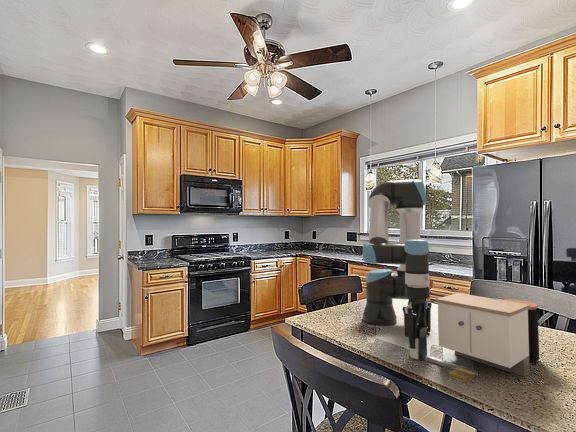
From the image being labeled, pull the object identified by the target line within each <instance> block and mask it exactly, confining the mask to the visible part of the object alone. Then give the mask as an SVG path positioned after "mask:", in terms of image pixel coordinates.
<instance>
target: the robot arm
mask: <svg viewBox="0 0 576 432" xmlns="http://www.w3.org/2000/svg"><path fill="white" fill-rule="evenodd" d="M427 198H428V197H427V190H426V187H425V184H424V181H422V180H420V179H400V180H387V181H383V182H381V183H379V184H378V185H377V186H375V188H373V190H372V191H371V192H370V195H369V197H368V203H367V205H368V208H369V209H370V210H369V228H368V229H369V230H368V231H369V232H368V233H369V236H368V243H364V244H363V245H362V261H363V262H364V263H365V264H373V265H375V264H377V265H378V264H383V265H384V264H385V265H386V264H387V265H388V264H390V265H399V266H398V267H397V268H396V272H393V270H392V269H391V268H388V269H387V268H382V269H381V268H380V269H374V270H373V269H372V270H369V271H368V272H367V273H366V276H365V278H366V279H365V286H366V287H365V289H366V293H365V295H366V296H365V297H366V298H365V299H366V301H365V302H366V303H365V307H364V309H363V313H362V321H363V322H365V323H368V324H370V323H371V325H375V324H376V325H377V326H391V325H395V324H396V323H397V319H398V318H397V315H396V311H395V307H394V305H393V304H394V303H393V299H395V300H408V302H407V306H403V307H402V312H403V324H404V326H403V327H404V337H407V338H408V348H409V347H410V356H409V358H412V359H415V360H418V359H419V352H418V339H417V328H418V325H421V326H425V327H426V331H427V337H429V336H430V335H431V333H430V332H432V326H431V325H432V324H431V322H432V321H431V316H432V314H431V313H432V311H431V310H432V302H428V299H430V287H429V285H430V267H429V266H430V264H429V263H430V254H429V252H430V246H429V241H428V240H426V239H421V223H420V222H421V221H420V220H421V218H420V215H421V214H420V213H421V212H422V211H423V210H424V206H427V202H428V200H427ZM391 206H392V207H395V210H396V212H398V214H399V243H389V209H390V207H391Z"/></svg>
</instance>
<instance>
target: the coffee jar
mask: <svg viewBox="0 0 576 432" xmlns="http://www.w3.org/2000/svg"><path fill="white" fill-rule="evenodd" d="M503 300H504V301H510V302H516V303H522V304H528V305H530V309H528V335H529V365H532V364H536V363H537V362H538V361H539V359H540V341H539V339H540V338H539V335H540V334H539V313H538V311H537V309H538V308H539V307H538V306H539V305H538V304H537V303H534V302H531V301H526V300H521V299H520V300H519V299H508V298H507V299H505V298H504V299H503Z"/></svg>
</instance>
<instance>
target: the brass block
mask: <svg viewBox="0 0 576 432" xmlns="http://www.w3.org/2000/svg"><path fill="white" fill-rule="evenodd" d="M447 375H448V377H449V378H452V379H454V380H457V381H460V382H463V383H467V384H468V382H470V381H472V380H473V379H474V378H475V377H474V374H473V373H470V372H467V371H464V370H461V369H458V368H456V369H454V370H453V369H451V370H450V371H449V372H448V373H447Z"/></svg>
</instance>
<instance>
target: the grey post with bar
mask: <svg viewBox="0 0 576 432" xmlns="http://www.w3.org/2000/svg"><path fill="white" fill-rule="evenodd" d="M427 337H428V336H427V331H426V327H425V326H421V325H418V328H417V339H418V352H419V359H417V360H418V361H426V362H429V363H432V364H435V365H438V366H441V367H444V368H447V369H450V370H454V369H456V368H458V369H461V370H464V371H467V372H470V373H473V374H474V378H477V377H478V371H477V370H475V369H471V368H468V367H466V366H463V365H460V364H459V365H458V364H455V363H453V362H449V361H446V360H444V359H441V358H437V357H434V356H430V355H428V341H427V340H428V338H427ZM408 349H409V350H408V351H409V357H410V347H409V346H408Z"/></svg>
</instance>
